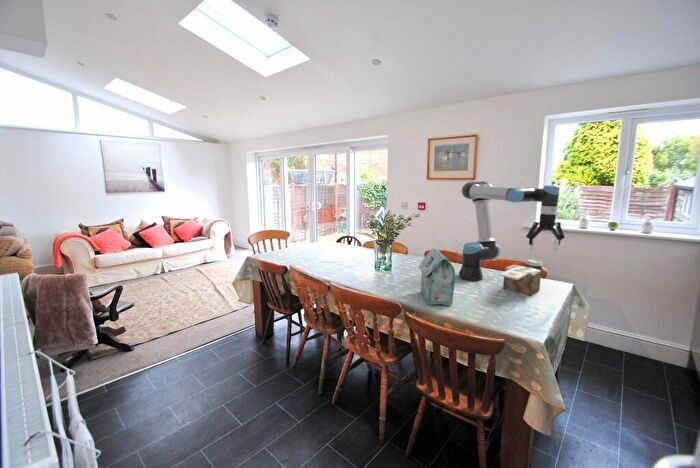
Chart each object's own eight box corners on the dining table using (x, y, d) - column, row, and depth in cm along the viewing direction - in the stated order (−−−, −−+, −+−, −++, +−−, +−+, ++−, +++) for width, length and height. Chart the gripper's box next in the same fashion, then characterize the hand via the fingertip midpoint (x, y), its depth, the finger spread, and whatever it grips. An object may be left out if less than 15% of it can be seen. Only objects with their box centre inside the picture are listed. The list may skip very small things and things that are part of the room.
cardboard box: (502, 288, 193) (504, 268, 191) (511, 284, 201) (513, 264, 199) (531, 296, 181) (533, 274, 179) (539, 291, 189) (541, 270, 187)
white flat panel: (499, 275, 180) (499, 273, 180) (509, 271, 188) (509, 269, 188) (517, 279, 173) (517, 277, 172) (527, 275, 181) (527, 273, 181)
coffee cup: (543, 286, 196) (545, 263, 194) (526, 285, 198) (528, 262, 196) (537, 281, 206) (539, 259, 203) (521, 280, 208) (523, 258, 205)
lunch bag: (417, 291, 190) (418, 247, 185) (444, 291, 190) (447, 247, 185) (424, 306, 167) (427, 257, 163) (456, 307, 167) (459, 257, 162)
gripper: (529, 214, 173) (524, 251, 177) (575, 214, 172) (570, 252, 177) (522, 212, 180) (518, 248, 184) (566, 212, 180) (561, 249, 184)
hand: (543, 250), depth 180 cm, fingers open, 13 cm apart
